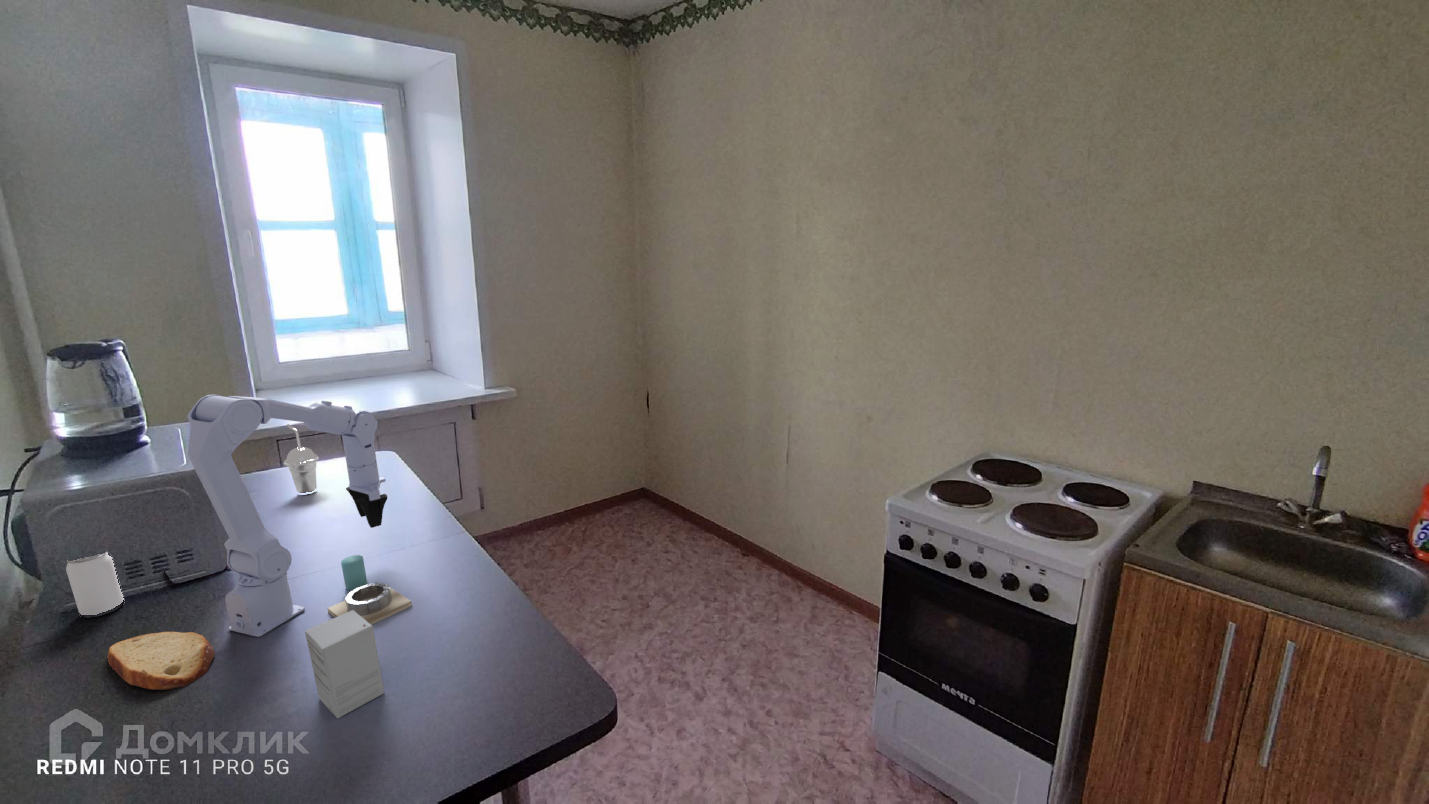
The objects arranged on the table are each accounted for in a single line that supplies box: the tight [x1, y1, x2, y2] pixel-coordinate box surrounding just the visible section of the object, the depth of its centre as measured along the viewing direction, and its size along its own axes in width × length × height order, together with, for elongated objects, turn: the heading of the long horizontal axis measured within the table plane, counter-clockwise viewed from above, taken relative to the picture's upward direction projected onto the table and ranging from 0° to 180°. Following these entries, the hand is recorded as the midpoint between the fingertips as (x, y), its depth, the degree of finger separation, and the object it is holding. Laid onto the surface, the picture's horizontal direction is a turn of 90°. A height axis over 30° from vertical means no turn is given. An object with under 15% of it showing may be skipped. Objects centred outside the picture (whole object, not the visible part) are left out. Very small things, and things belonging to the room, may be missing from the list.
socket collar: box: [344, 582, 392, 616], centre depth 122 cm, size 8×8×2 cm
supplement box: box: [304, 610, 385, 719], centre depth 97 cm, size 7×7×13 cm
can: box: [65, 550, 125, 615], centre depth 121 cm, size 6×6×12 cm
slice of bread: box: [106, 631, 216, 691], centre depth 106 cm, size 18×18×4 cm
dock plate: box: [327, 586, 413, 626], centre depth 122 cm, size 11×11×1 cm
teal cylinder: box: [340, 554, 368, 592], centre depth 130 cm, size 4×4×6 cm
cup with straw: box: [283, 423, 320, 493], centre depth 177 cm, size 8×9×20 cm
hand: (370, 520), depth 138 cm, fingers open, 7 cm apart
